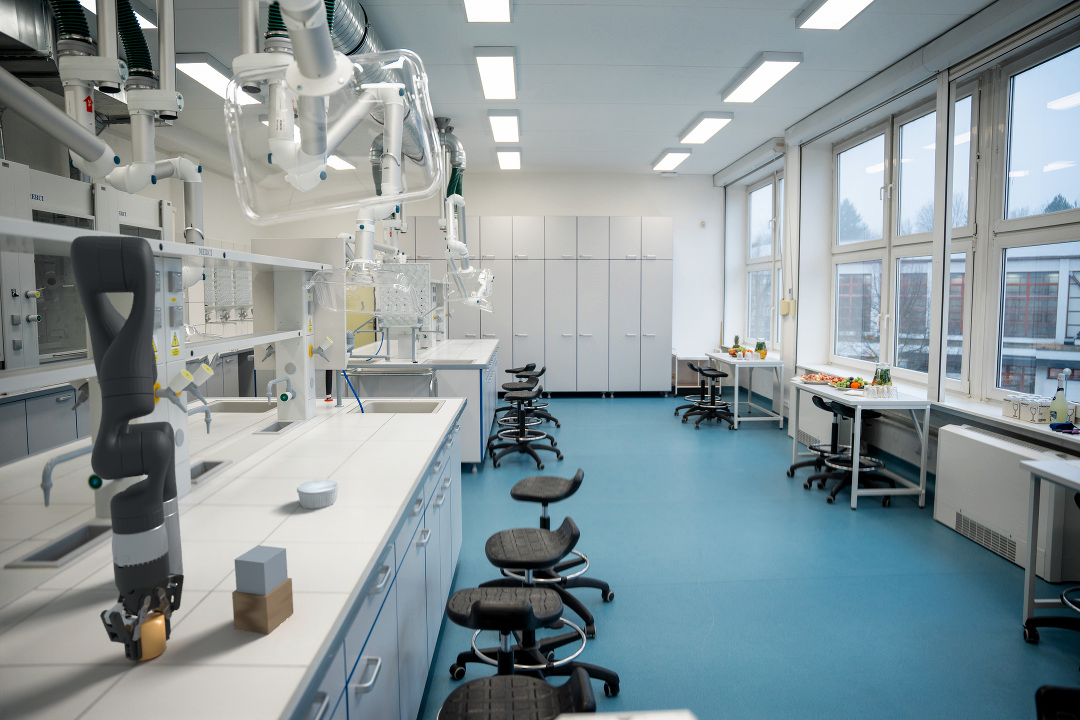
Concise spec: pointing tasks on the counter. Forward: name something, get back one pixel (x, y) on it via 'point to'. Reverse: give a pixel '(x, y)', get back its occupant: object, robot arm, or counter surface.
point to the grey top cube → (261, 570)
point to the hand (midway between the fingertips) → (149, 649)
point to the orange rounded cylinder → (153, 636)
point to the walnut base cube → (263, 609)
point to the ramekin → (318, 493)
